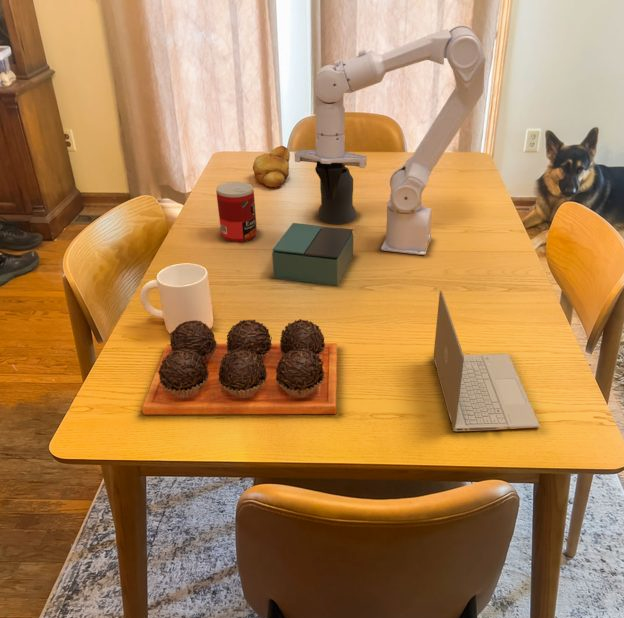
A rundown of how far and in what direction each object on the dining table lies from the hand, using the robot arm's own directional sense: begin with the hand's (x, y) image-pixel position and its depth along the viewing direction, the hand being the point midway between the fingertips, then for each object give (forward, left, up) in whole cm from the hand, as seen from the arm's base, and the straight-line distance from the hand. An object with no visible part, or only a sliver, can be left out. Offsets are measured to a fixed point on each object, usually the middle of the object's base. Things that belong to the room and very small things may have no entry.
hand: (330, 197), depth 140 cm
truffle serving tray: (0, +51, -11) cm, 52 cm away
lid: (-3, +12, -5) cm, 13 cm away
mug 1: (+17, +39, -11) cm, 44 cm away
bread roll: (+25, -32, -6) cm, 41 cm away
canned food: (+21, +1, -11) cm, 23 cm away
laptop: (-36, +45, -11) cm, 59 cm away
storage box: (0, +11, -10) cm, 16 cm away
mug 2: (+3, -16, -11) cm, 19 cm away
